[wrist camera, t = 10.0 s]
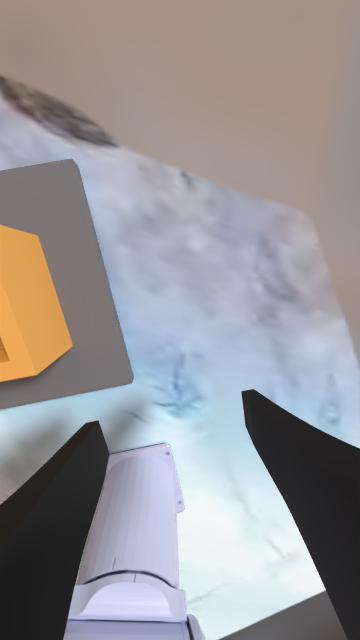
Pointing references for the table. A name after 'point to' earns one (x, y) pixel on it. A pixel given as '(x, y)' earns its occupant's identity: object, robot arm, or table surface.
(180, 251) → the table surface
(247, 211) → the table surface
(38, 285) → the orange link
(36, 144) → the table surface
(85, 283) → the hook board
